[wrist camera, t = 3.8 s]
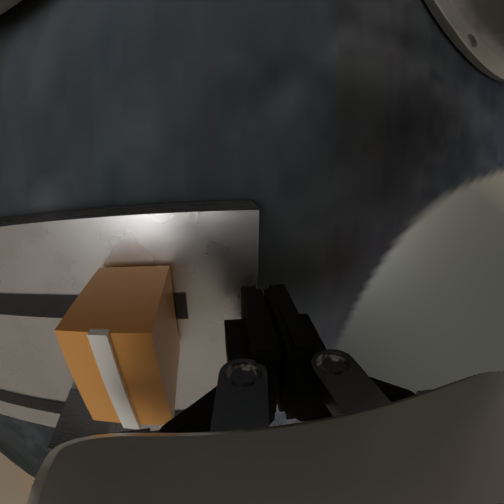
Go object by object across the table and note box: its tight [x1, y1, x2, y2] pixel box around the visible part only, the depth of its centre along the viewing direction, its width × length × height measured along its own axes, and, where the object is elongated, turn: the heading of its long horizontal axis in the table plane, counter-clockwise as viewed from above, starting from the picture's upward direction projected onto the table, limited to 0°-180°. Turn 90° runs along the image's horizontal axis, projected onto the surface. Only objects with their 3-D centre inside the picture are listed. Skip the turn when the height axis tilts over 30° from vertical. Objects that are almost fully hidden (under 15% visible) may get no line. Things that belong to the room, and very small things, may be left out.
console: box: [0, 200, 259, 452], centre depth 11 cm, size 28×14×6 cm, turn 89°
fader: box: [54, 265, 180, 429], centre depth 10 cm, size 3×4×5 cm
